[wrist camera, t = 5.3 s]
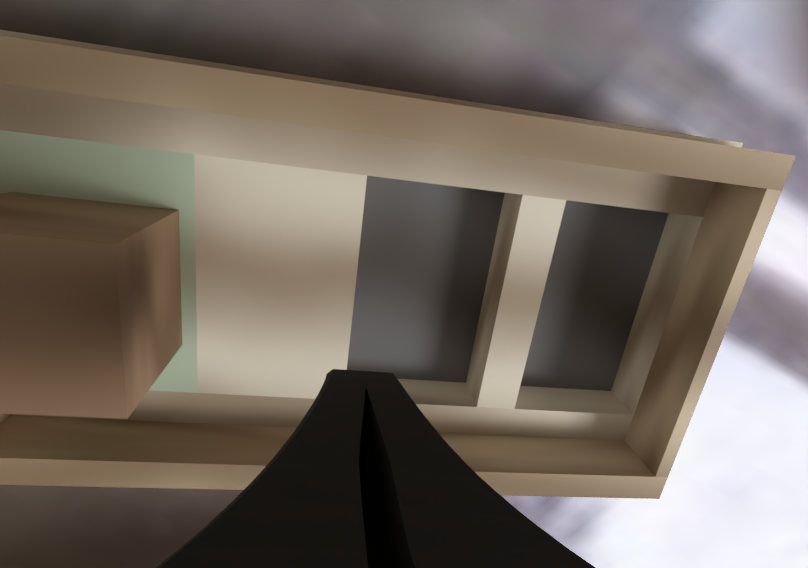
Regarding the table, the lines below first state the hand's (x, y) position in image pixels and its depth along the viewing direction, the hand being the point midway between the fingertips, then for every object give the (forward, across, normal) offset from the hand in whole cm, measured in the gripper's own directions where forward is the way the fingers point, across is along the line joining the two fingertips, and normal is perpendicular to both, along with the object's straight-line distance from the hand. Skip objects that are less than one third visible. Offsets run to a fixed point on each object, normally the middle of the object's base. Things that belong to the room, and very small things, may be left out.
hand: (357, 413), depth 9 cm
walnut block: (+6, +8, 0) cm, 10 cm away
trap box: (+8, 0, 0) cm, 8 cm away
